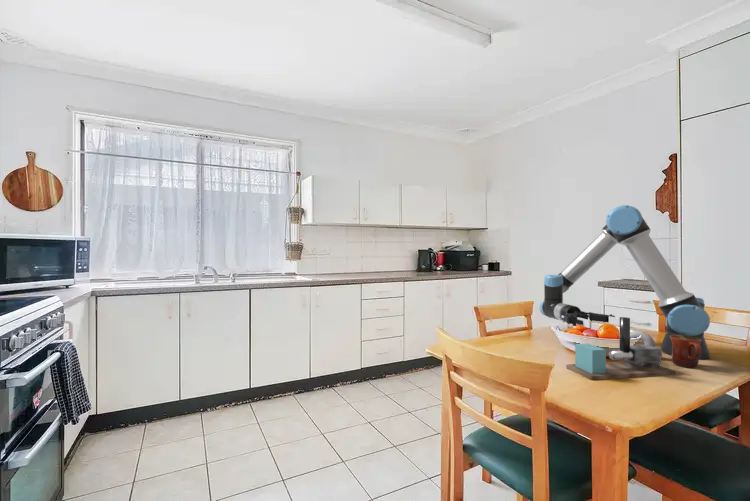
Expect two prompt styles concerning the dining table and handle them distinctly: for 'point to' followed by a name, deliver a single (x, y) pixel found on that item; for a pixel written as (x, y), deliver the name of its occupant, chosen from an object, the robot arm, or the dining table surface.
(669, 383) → the dining table surface
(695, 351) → the mug
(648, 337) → the grey curved piece
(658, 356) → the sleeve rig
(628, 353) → the slip tube
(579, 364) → the socket block
